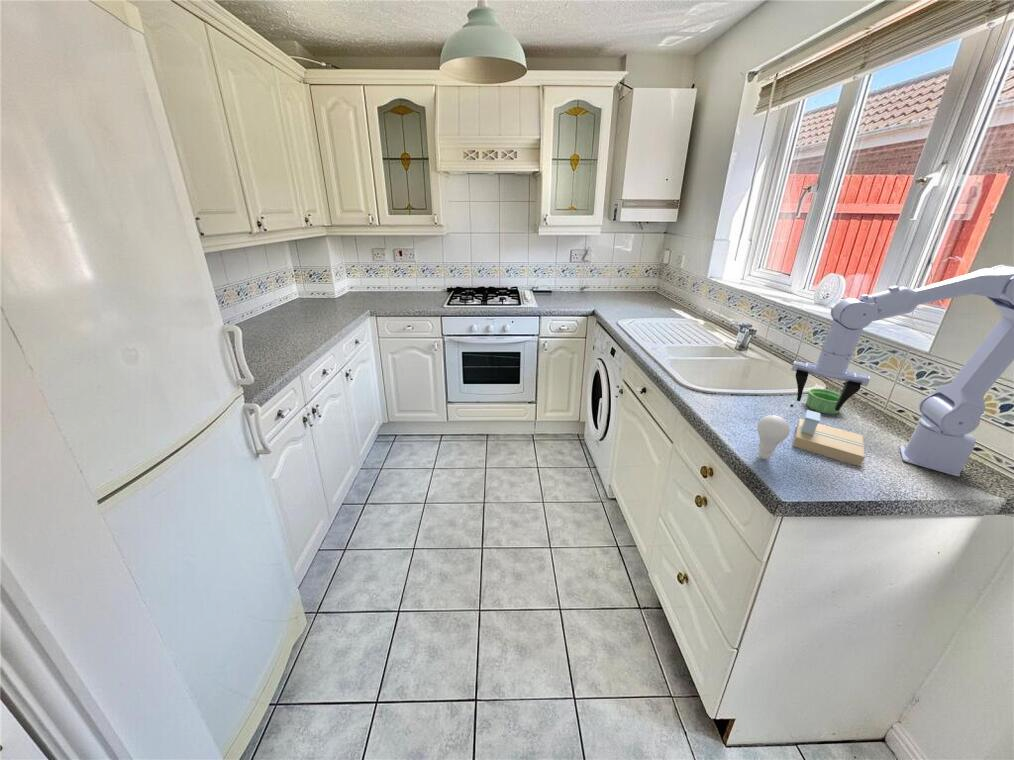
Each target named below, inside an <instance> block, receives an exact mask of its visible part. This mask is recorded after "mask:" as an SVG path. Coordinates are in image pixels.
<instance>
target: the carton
mask: <svg viewBox="0 0 1014 760" xmlns="http://www.w3.org/2000/svg"><path fill="white" fill-rule="evenodd" d="M803 422H804V418H799V421H798V423H797V426H796V430H795V435H794V438H793V443H792V446H793V447H795V448H797V449H801V450H805V451H807V452H808V451H809V452H810V453H815V454H818V455H820V456H824V457H828V458H831V459H835V460H837V461H840V462H844V463H848V464H851V465H853V466H858V467H861V465H862V463H863V461H864V459H865V446H864V438H863V434H858V433H855V432H852V431H847V430H844V429H841V428H837V427H833V426H830V425H829V426H828V425H824V424H822V423H818V424H817V427H816V430H815V432H814V435H810V434H806V433H803V432H801V430H802V424H803Z"/></svg>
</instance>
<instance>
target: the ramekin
mask: <svg viewBox="0 0 1014 760" xmlns="http://www.w3.org/2000/svg"><path fill="white" fill-rule="evenodd" d="M840 395H841V393H839V392H836V391H833V390H829V389H824V388H817V387H816V388H815V387H814V388H809V389H808V391H807V398H806V403H805V404H806V406H807V407H808V408H810V409H812V411H815V412H818V413H822V414H828V415H836V414H838V413H839V412H840V411H841V409H842V408H843V405H844V404H843V405H842V406H841V408H840V409H839V411H836V410H835V406H836V403H837V401H838V399H839V397H840Z"/></svg>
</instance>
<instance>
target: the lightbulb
mask: <svg viewBox="0 0 1014 760" xmlns="http://www.w3.org/2000/svg"><path fill="white" fill-rule="evenodd" d="M756 429H757V434H758V436H759V444H758V447H759V448H758V452H757V454H758V457H760V459H762V460H770V459H771V457H772V455H773V453H774V452H775V451H776V448H777V447H778V446H779V444H780V443H782V442H784V441H785V440H786V439H787V438H788V437H789V435H790V432H791V427H790V425H789V423H788V421H787V420H786V419H785V418H783V417H781V416H779V415H774V414H773V415H771V414H770V415H767V416H764V417H762V418H761V419H760V420H759V421H758V423H757V427H756Z"/></svg>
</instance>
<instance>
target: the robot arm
mask: <svg viewBox="0 0 1014 760" xmlns="http://www.w3.org/2000/svg"><path fill="white" fill-rule="evenodd" d="M969 295H975V296H981V297H985V298H987V299H988V300H990V301H991V302H992V303H994V305H995V306H996V309H997V310H998V312H999V314H1000V315H1001V319H999V320H998V321H997V323H996V325H995V326H994V327H993V328H992V330H991V331H990V332H989V333H988V335H987V336H986V337H985V339H984V340H983V341H982V342H981V343H980V345H979V346H978V347H977V349H975V351H974V352H973V354H972V355H971V356H970V357H969V358H968V360H967V361H966V363H964V365H963V366H962V367H961V369H960V370H959V371H958V372H957V374H956V375H955V377H954V378H953V379H952V381H951V382H950V383H947V384H942V385H939V386H938V387H936V389H935V390H934V391H933V392H932V393H930V394H928V395H926V396H925V397H923V399H921V401H920V402H919V405H918V409H919V412H920V413H921V415H920V417H919V418H920V419H919V421H918V423H917V425H916V426H915V429H914V430H913V433H912V435H911V437H910V438H909V441H908V442H907V445H906V446H904V445H900V446H899V451H900V455H901V459H902V461H903V462H905V463H908V464H912V465H916V466H919V467H923V468H926V469H929V470H934V471H938V472H940V473H944V474H948V475H952V476H955V477H959V478H960V476H961V474H960V473H961V471H962V470H963V468H964V466H965V465H966V463H967V461H968V460H969V458H970V456H971V455H972V453H973V450H974V449H975V445H976V437H975V436H974V435H973V434H970V433H972V432H974V431H976V429H977V428H978V427H979V425H980V423H981V417H982V415H983V414H984V412H985V411H986V408H987V407H986V404H985V403H986V402H985V399H984V396H985V395H986V394H987V392H988V391H989V390H990V389H991V388H992V386H993V385H994V384H995V382H997V380H999V378H1000V377H1001V375H1002V374H1003V373H1004V372H1005V371H1006V370H1007V369H1008V367H1009V366H1011V364H1012V363H1013V362H1014V265H1009V264H1000V265H996V266H992V267H991V268H990V267H989V268H988V267H985V268H981V269H978V270H975V271H972V272H970V273H967V274H963V275H960V276H956V277H952V278H949V279H945V280H942V281H939V282H935V283H931V284H929V285H925V286H921V287H919V288H915V289H911V288H909V287H907V286H900V287H899V286H898V285H893V286H888V290H884V291H880V292H877V293H876V292H875V293H874V294H866V293H865V294H861V295H860V297H859V298H858V299H857V298H853V297H849V298H844V299H842V300H840V301H839V302H838V303H836V304H835V305H834V307H832V308H830V309H831V310H830V317H831V318H832V321H831V323H830V324H831V325H830V327H829V329H828V331H827V335H826V337H825V341H824V343H823V346H822V348H821V350H820V351H821V352H820V354H819V356H818V360H817V362H816V363H810V362H804V361H803V362H801V361H797V360H794V361H793V364H792V367H791V368H790V369H791V371H792V372H795V379H796V380H795V381H796V385H797V395H796V396H797V397H796V402H801V399H802V396H803V392H804V388H805V386H806V383H807V380H808V377H809V374H811V375H815V376H819V377H824V378H829V379H834V380H838V381H843V382H844V385H843V388H842V391H841V393H840V394H841V395H840V397H839V399H838V401H837V403H836V406H835V410H836V411H839V409H840V408H841V406H842V405H844V404H845V403H846V401H848V400H849V399H850V398H851V397H852V396H853V395H855V394H857V393H858V392H859V391H860V389H861V386H862V387H866V388H867V387H868V385H869V383H870V380H871V376H870V375H865V374H862V373H857V372H854V371H851V370H848V367H849V365H850V363H851V361H852V358H853V355H854V353H855V350H856V348H857V345H858V342H859V339H860V338H861V334H862V331H863V329H864V328H866V327H868V326H869V325H870V324H871V323H873V322H876V321H881V320H884V319H889V318H894V317H897V316H901V315H906V314H910V313H912V312H913V311H915V309H916V308H917V307H918V306H919V305H925V304H929V303H934V302H940V301H943V300H950V299H955V298H958V297H959V298H960V297H965V296H969ZM842 407H843V406H842ZM841 409H842V408H841ZM839 412H840V411H839Z"/></svg>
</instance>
